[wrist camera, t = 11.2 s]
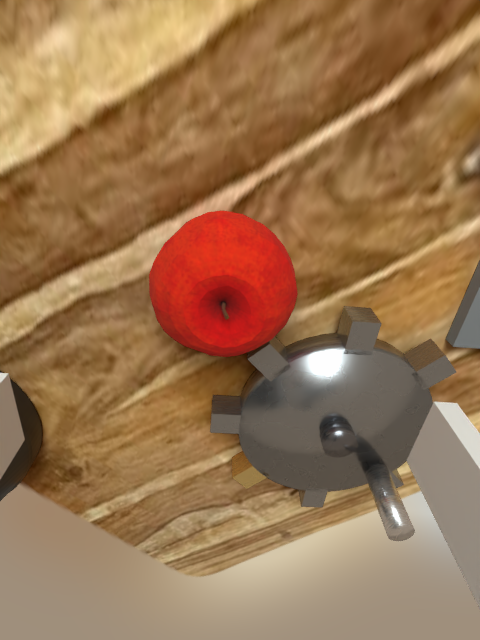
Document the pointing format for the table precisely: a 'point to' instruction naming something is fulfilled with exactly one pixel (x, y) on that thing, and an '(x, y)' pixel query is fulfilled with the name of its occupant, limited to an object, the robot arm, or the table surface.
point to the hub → (338, 439)
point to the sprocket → (333, 413)
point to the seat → (468, 317)
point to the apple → (223, 284)
